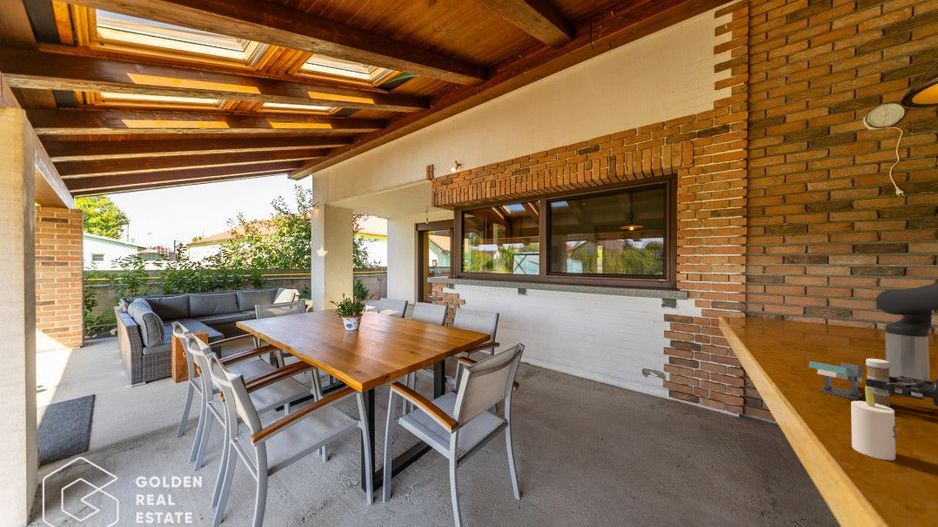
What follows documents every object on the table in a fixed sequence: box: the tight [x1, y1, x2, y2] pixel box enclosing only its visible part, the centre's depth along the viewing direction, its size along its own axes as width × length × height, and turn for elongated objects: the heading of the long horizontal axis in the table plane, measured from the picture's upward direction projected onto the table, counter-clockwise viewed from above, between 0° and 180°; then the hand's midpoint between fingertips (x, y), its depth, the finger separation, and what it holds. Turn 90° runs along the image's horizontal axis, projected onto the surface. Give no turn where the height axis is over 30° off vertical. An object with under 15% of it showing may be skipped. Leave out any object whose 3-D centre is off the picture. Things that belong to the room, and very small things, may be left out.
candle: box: [850, 385, 898, 461], centre depth 75 cm, size 6×6×15 cm
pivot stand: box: [819, 373, 864, 401], centre depth 107 cm, size 6×8×8 cm
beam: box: [808, 360, 864, 383], centre depth 107 cm, size 26×8×6 cm, turn 118°
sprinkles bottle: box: [865, 358, 891, 407], centre depth 100 cm, size 5×5×14 cm
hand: (870, 379), depth 101 cm, fingers open, 8 cm apart
